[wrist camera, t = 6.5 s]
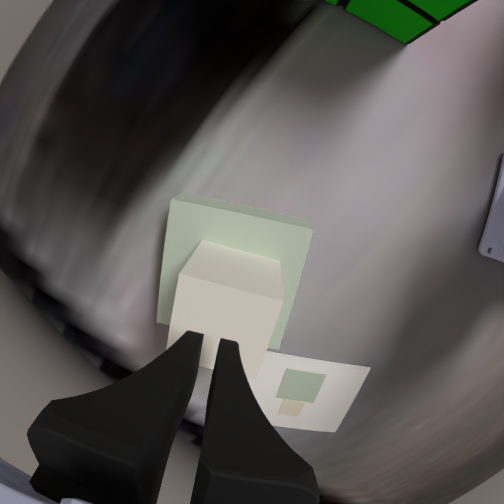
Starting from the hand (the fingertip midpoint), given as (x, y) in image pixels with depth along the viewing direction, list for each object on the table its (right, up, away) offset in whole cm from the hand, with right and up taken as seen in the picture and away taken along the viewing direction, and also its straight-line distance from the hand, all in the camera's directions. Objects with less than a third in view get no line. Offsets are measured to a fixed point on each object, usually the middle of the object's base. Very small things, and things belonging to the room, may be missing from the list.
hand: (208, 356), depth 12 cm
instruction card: (+5, -8, +13) cm, 16 cm away
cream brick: (0, +2, +7) cm, 7 cm away
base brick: (0, +3, +10) cm, 10 cm away
